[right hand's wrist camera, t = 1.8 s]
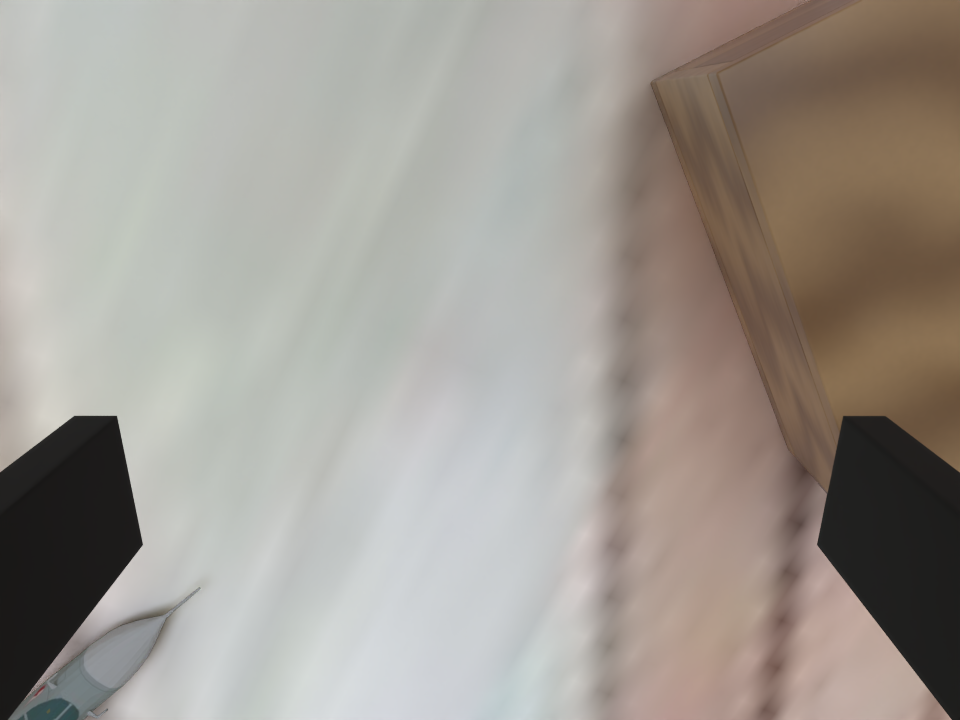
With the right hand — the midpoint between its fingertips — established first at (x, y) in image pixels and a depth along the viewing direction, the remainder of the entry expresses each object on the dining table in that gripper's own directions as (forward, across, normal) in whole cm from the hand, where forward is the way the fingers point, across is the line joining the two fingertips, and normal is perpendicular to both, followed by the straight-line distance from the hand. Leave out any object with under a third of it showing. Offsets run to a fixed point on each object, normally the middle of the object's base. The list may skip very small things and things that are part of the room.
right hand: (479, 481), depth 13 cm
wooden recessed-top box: (+22, +17, +1) cm, 28 cm away
